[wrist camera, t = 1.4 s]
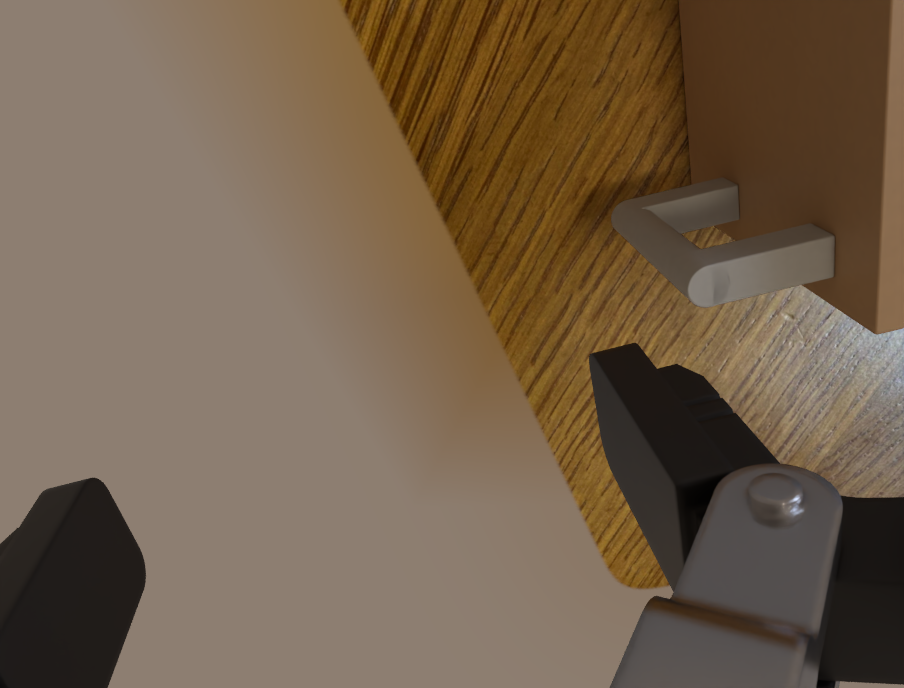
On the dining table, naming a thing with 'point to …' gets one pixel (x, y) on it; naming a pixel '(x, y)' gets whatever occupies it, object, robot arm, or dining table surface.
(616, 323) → the dining table surface
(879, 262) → the cupboard door
